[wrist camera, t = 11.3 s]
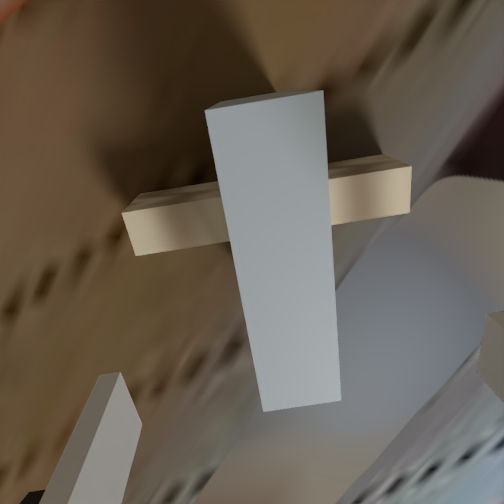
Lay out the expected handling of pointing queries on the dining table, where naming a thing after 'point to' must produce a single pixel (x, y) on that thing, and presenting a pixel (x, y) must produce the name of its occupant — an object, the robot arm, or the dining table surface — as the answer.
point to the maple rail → (213, 217)
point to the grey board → (281, 240)
